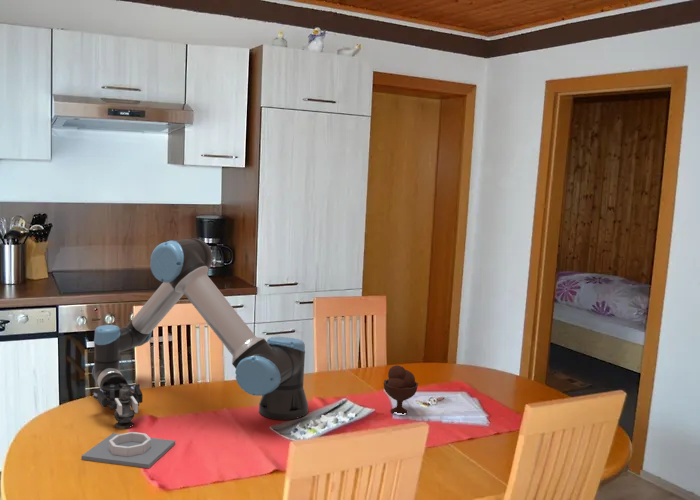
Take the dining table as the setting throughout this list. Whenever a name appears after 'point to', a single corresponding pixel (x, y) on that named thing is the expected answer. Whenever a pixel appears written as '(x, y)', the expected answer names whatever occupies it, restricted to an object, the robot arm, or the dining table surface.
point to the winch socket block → (129, 450)
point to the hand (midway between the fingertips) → (128, 409)
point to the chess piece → (124, 410)
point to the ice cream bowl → (400, 386)
